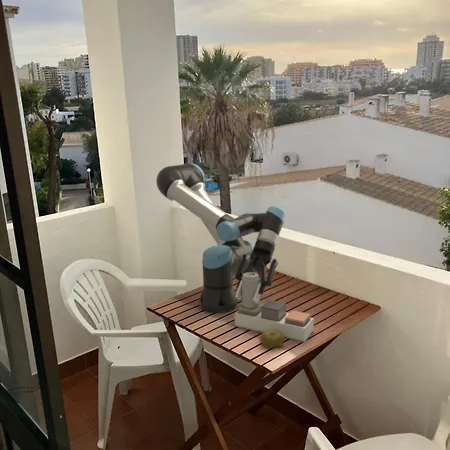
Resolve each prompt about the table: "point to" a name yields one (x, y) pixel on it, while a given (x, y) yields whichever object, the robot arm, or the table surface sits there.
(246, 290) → the beverage can
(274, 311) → the key charcoal
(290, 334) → the light grey piece
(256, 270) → the sundae
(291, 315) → the key terracotta
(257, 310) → the key olive
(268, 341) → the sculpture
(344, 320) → the table surface
